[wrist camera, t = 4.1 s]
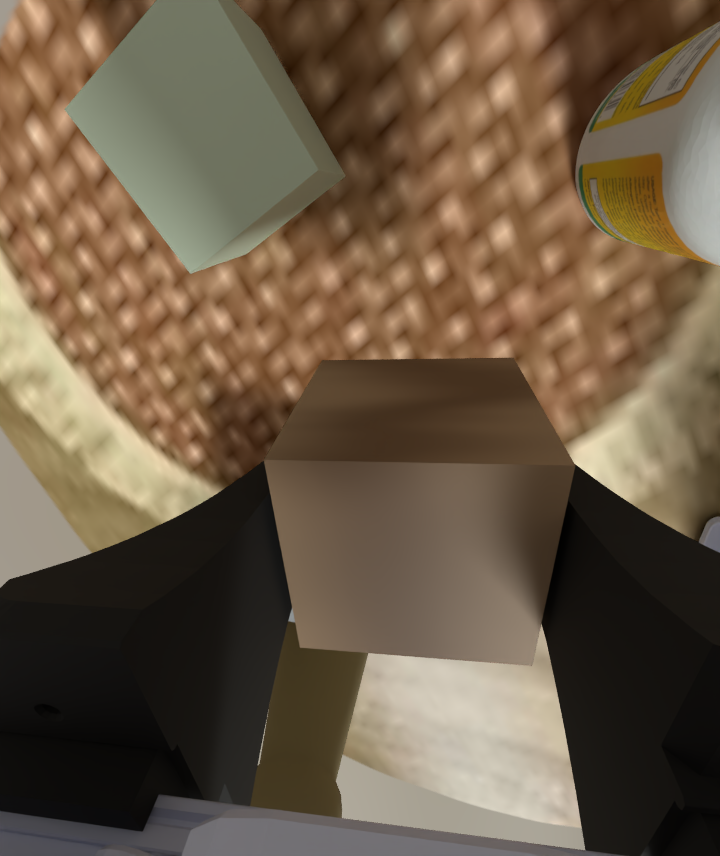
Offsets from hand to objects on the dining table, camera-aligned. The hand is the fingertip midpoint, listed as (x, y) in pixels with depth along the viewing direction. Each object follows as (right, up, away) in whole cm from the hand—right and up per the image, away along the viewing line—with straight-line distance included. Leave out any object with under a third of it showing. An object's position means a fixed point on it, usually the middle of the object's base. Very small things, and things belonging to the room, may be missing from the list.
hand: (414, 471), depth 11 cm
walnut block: (0, +1, +1) cm, 2 cm away
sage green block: (-5, +11, +5) cm, 13 cm away
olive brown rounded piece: (-4, -13, +18) cm, 23 cm away
